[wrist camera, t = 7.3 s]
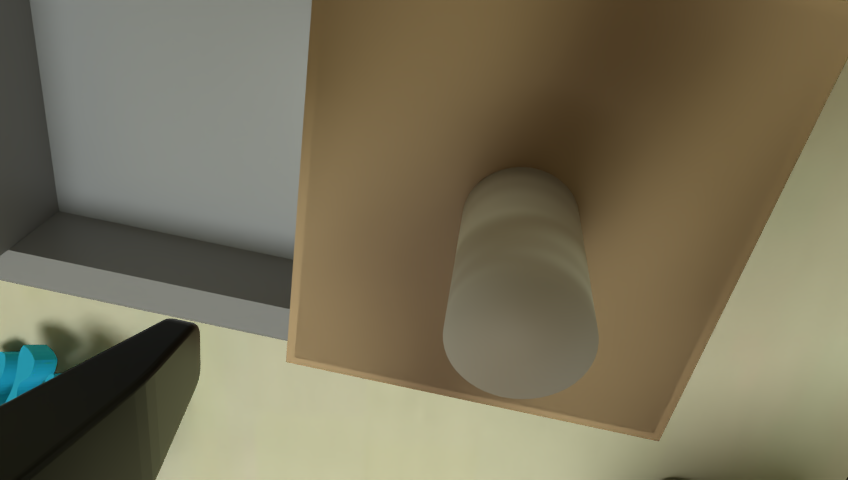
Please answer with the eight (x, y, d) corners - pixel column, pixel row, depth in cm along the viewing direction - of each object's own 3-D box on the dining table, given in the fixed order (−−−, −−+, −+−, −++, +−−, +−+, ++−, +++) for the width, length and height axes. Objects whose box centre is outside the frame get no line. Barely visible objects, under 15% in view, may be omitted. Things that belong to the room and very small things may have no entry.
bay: (795, -123, 15) (900, -115, 11) (612, 338, 23) (633, 451, 18) (-28, -278, 16) (-231, -327, 12) (47, 220, 23) (-61, 303, 19)
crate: (774, -35, 15) (1032, 75, 8) (630, 319, 21) (695, 597, 13) (374, -112, 16) (229, -81, 8) (334, 257, 21) (224, 494, 13)
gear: (43, 306, 23) (64, 624, 20) (191, 313, 28) (227, 569, 25) (-82, 393, 29) (-82, 652, 25) (59, 386, 33) (74, 604, 30)
